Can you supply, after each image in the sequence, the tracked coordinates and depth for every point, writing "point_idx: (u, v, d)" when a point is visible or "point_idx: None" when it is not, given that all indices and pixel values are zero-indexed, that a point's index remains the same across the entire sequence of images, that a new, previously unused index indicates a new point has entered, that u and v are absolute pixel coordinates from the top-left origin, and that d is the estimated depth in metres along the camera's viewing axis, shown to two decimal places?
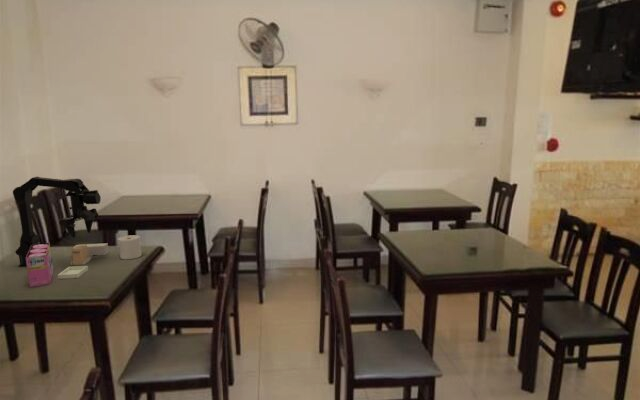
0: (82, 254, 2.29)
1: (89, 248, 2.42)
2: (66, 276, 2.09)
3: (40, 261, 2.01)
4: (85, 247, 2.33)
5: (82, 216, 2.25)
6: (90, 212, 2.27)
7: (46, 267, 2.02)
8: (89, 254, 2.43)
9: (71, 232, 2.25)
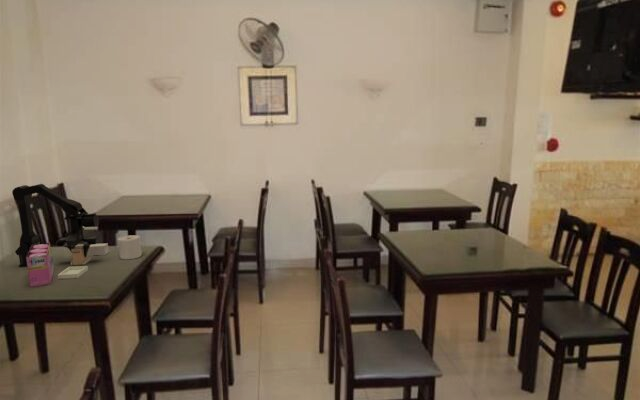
0: (82, 254, 2.29)
1: (89, 248, 2.42)
2: (66, 276, 2.09)
3: (40, 261, 2.01)
4: None
5: None
6: (73, 238, 2.23)
7: (47, 267, 2.02)
8: (89, 254, 2.43)
9: None
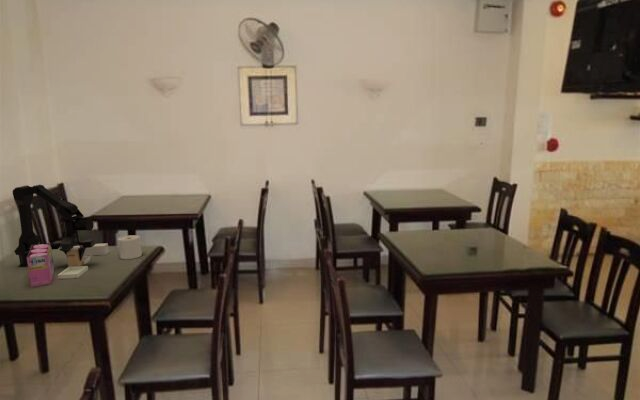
0: (77, 257, 2.24)
1: (89, 248, 2.42)
2: (66, 276, 2.09)
3: (41, 261, 2.01)
4: None
5: None
6: (68, 241, 2.18)
7: (47, 267, 2.02)
8: (89, 254, 2.43)
9: None
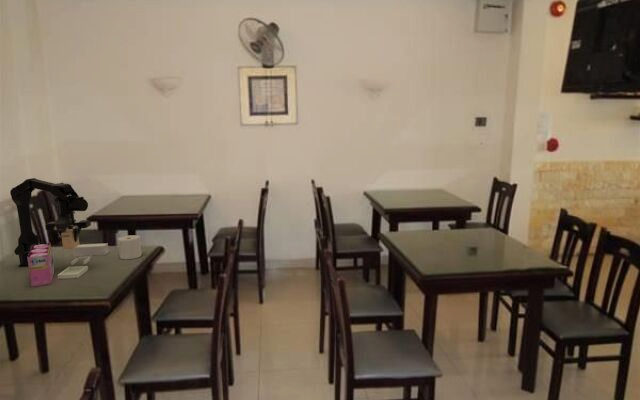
0: (72, 238, 2.19)
1: (89, 248, 2.42)
2: (66, 276, 2.09)
3: (41, 261, 2.01)
4: None
5: None
6: (62, 221, 2.13)
7: (48, 267, 2.02)
8: (89, 254, 2.43)
9: None
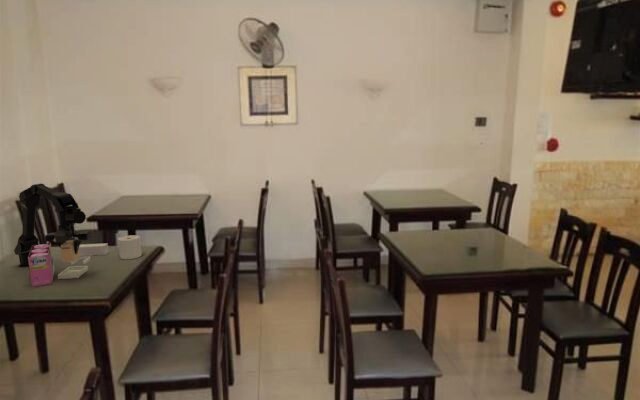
0: (72, 250, 2.10)
1: (89, 248, 2.42)
2: (66, 276, 2.09)
3: (42, 261, 2.01)
4: None
5: None
6: (62, 233, 2.04)
7: (48, 267, 2.03)
8: (89, 254, 2.43)
9: None
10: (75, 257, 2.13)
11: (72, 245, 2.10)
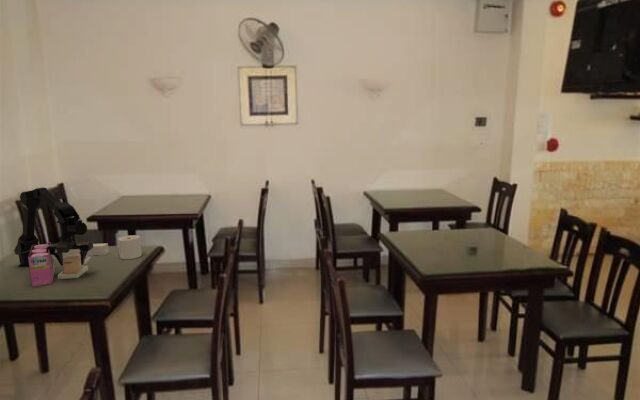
0: (74, 264, 2.12)
1: None
2: (66, 276, 2.09)
3: (42, 261, 2.01)
4: (78, 256, 2.16)
5: None
6: (64, 244, 2.05)
7: (48, 267, 2.03)
8: (89, 254, 2.43)
9: None
10: (77, 271, 2.14)
11: (74, 259, 2.12)
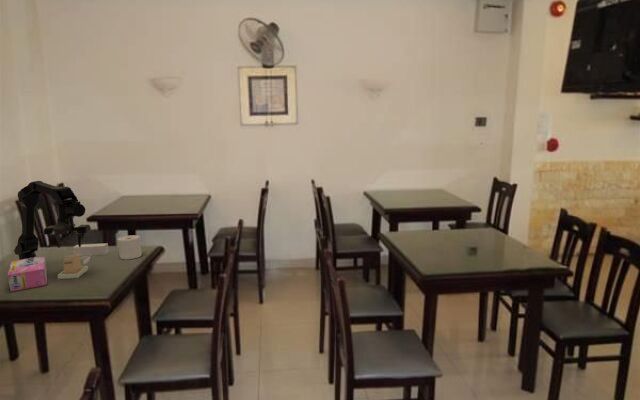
0: (74, 264, 2.12)
1: (89, 248, 2.42)
2: (66, 276, 2.09)
3: (15, 279, 1.96)
4: (78, 256, 2.16)
5: None
6: (61, 226, 2.06)
7: (23, 273, 1.97)
8: (89, 254, 2.43)
9: None
10: (77, 271, 2.14)
11: (74, 259, 2.12)
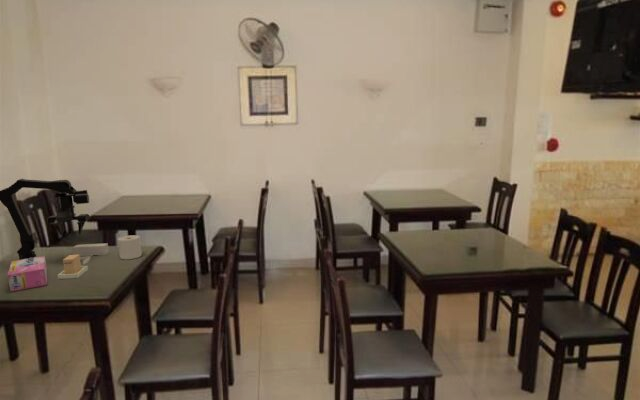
0: (74, 264, 2.12)
1: (89, 248, 2.42)
2: (66, 276, 2.09)
3: (15, 279, 1.96)
4: (78, 256, 2.16)
5: None
6: (63, 215, 2.26)
7: (23, 273, 1.97)
8: (89, 254, 2.43)
9: None
10: (77, 271, 2.14)
11: (74, 259, 2.12)
